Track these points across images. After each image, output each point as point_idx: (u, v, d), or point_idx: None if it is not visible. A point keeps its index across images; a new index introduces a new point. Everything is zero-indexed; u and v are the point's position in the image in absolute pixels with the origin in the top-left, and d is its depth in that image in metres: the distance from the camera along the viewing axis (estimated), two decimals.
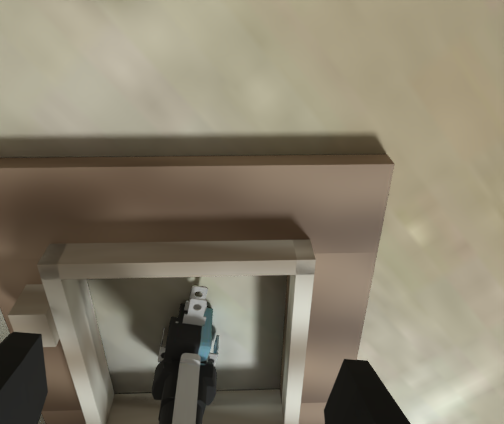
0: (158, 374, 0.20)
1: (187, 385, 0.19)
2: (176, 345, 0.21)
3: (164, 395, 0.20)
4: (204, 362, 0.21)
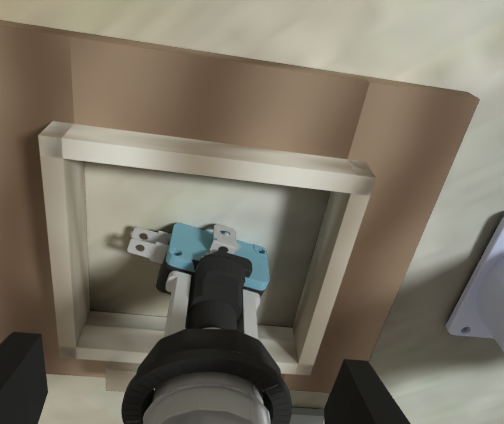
0: None
1: (169, 305, 0.17)
2: (165, 284, 0.19)
3: None
4: (196, 264, 0.19)
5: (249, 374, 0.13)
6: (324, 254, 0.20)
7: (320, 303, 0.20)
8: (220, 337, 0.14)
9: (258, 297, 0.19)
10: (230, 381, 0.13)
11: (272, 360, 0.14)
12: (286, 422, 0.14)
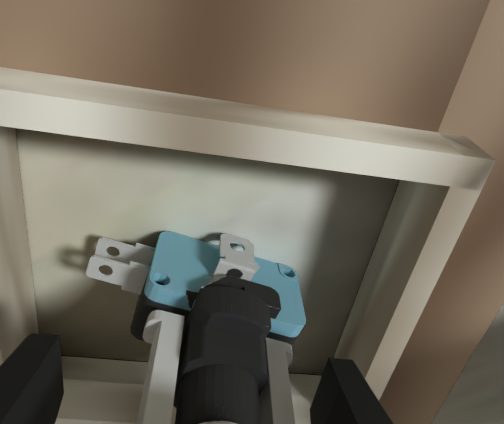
0: None
1: (147, 371, 0.10)
2: (144, 328, 0.12)
3: None
4: (192, 299, 0.12)
5: None
6: (389, 281, 0.13)
7: (380, 354, 0.13)
8: None
9: (290, 350, 0.12)
10: None
11: None
12: None
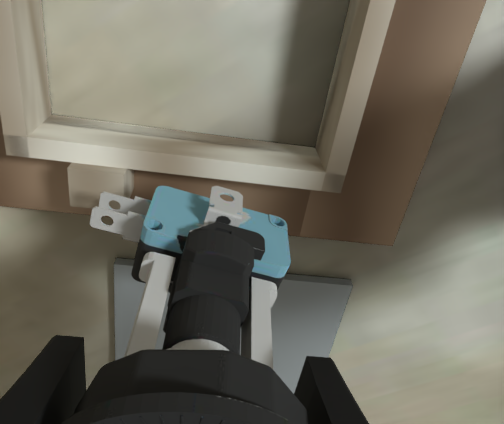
0: None
1: (140, 302, 0.12)
2: None
3: None
4: (182, 242, 0.13)
5: None
6: None
7: (358, 62, 0.15)
8: (200, 366, 0.08)
9: (274, 288, 0.13)
10: None
11: (293, 398, 0.09)
12: None
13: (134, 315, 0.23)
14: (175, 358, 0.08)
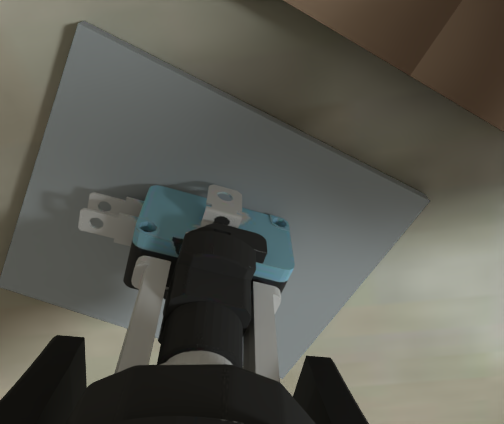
0: None
1: None
2: None
3: None
4: (178, 245, 0.12)
5: None
6: None
7: None
8: (200, 383, 0.07)
9: (278, 293, 0.12)
10: None
11: (305, 417, 0.08)
12: None
13: (79, 143, 0.13)
14: (172, 375, 0.07)
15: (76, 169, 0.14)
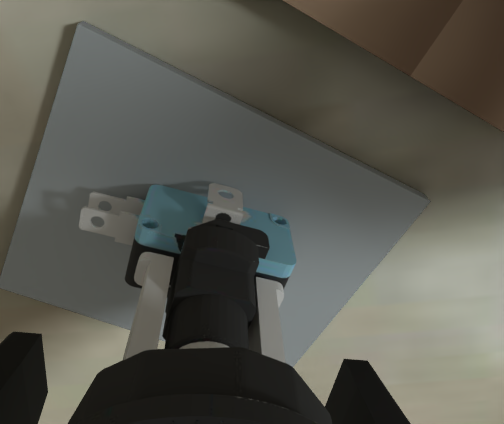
0: None
1: None
2: None
3: None
4: (181, 241, 0.12)
5: None
6: None
7: None
8: (213, 365, 0.07)
9: (280, 288, 0.12)
10: None
11: (316, 401, 0.08)
12: None
13: (79, 144, 0.13)
14: (184, 358, 0.07)
15: (76, 170, 0.14)
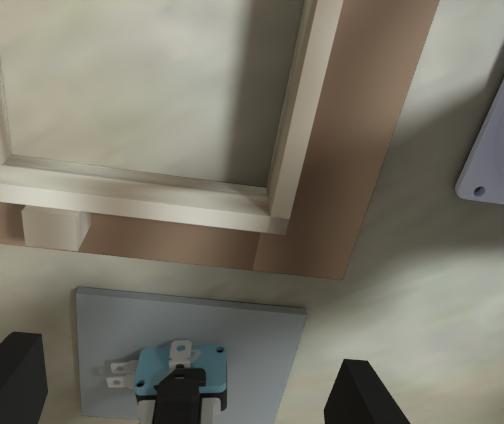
0: None
1: None
2: None
3: None
4: (157, 389, 0.22)
5: None
6: (301, 51, 0.15)
7: (295, 118, 0.16)
8: None
9: (217, 401, 0.22)
10: None
11: None
12: None
13: (97, 341, 0.24)
14: None
15: (100, 352, 0.24)
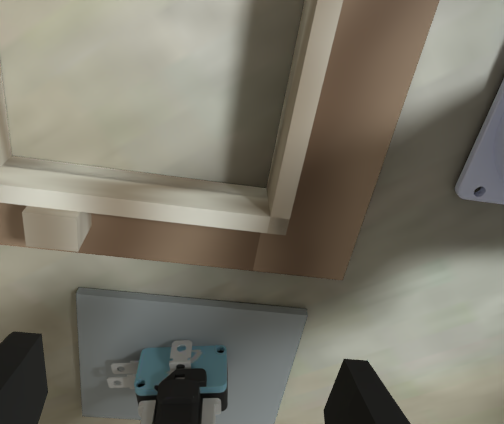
0: None
1: None
2: None
3: None
4: (158, 389, 0.22)
5: None
6: (301, 51, 0.15)
7: (295, 119, 0.16)
8: None
9: (217, 402, 0.22)
10: None
11: None
12: None
13: (97, 341, 0.24)
14: None
15: (101, 352, 0.24)
